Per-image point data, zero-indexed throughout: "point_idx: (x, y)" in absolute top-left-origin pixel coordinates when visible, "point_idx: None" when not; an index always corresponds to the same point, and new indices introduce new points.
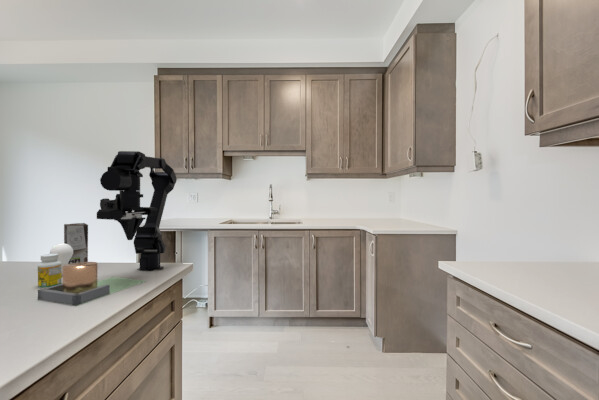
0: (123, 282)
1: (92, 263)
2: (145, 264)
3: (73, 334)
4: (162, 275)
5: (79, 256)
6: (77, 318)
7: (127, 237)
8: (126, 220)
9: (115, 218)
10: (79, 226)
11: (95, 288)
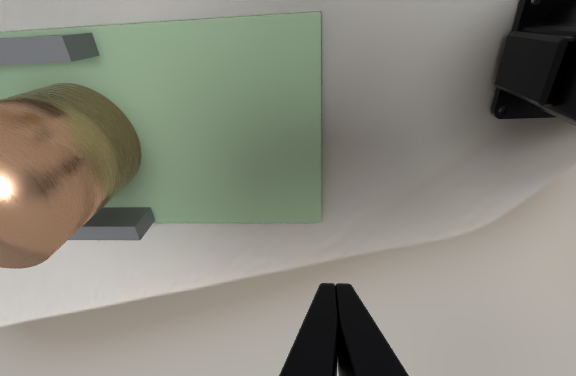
0: (266, 158)
1: (33, 230)
2: (515, 94)
3: (17, 314)
4: (442, 200)
5: None
6: (38, 268)
7: (311, 312)
8: None
9: None
10: None
11: (89, 231)
